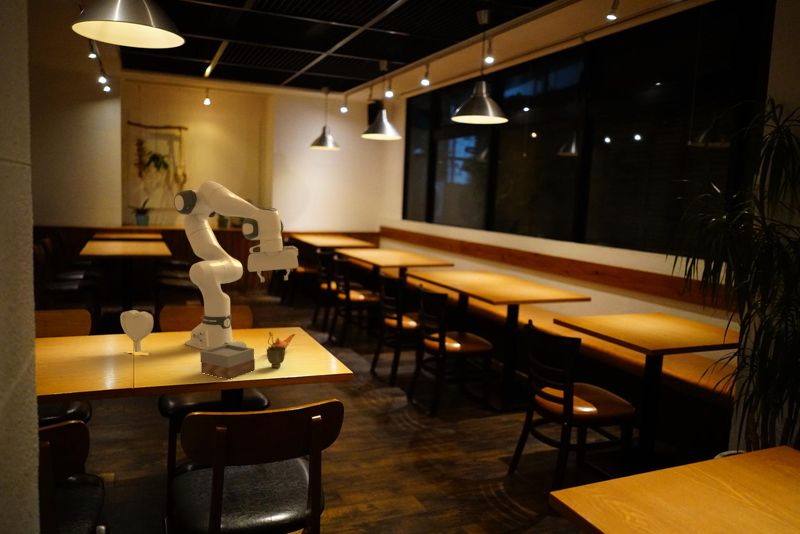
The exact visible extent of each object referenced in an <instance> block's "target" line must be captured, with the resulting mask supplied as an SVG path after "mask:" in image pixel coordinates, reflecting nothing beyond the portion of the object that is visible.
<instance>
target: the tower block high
mask: <svg viewBox="0 0 800 534" xmlns="http://www.w3.org/2000/svg"><path fill="white" fill-rule="evenodd" d="M199 356H200V363H201V362H203V363H208V364H212V365H217V366H222V367H227V368H229V367H232V366H235V365H238V364H241V363H244V362H247V361H250V360H253V359H255V348H252V347H248V346H247V347H242V346H237V345H231V344H224V345H221V346H217V347H214V348H210V349H205V350H200V355H199Z"/></svg>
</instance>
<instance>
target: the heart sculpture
mask: <svg viewBox="0 0 800 534" xmlns="http://www.w3.org/2000/svg"><path fill="white" fill-rule="evenodd" d="M119 319H120V325H121V327H122V329H123V332H124V333H125V334H126V336H127V338H129V339H130V340H131V341H132V342H133V344H134V345H133V347H134V350H135V352H141V350H142V349H141V341H143V339H144V338H147V337H148V336H149V335H150V334H151V332H152V331H153V328H154V317H153V315H152V314H151V313H149V312H147V311H138V310H135V309H134V310H133V309H132V310H128V311H123V312H122V313H120V317H119Z"/></svg>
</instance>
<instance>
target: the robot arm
mask: <svg viewBox="0 0 800 534" xmlns="http://www.w3.org/2000/svg"><path fill="white" fill-rule="evenodd" d="M173 206H174V209H175V210H176V211H177V212H178V213H179V214H180V215H181V214H182V215H186V216H184V218H183V226H184V231H185V235H186V237H187V240H188V241H189V243H190V246H191V249H192V250H193V251H192V252H193V253H194V254H195V256H197V257H199V258H201V259H203V260H201V261H199V262H196V263H194V264H192V265H191V267H190V269H189V274H188V275H189V279H190V281H191V282H192V283H193V284H194V285H196V287H197V288H198V289H199V291H200V292H201V294H202V297H203V304H204V307H203V308H204V309H203V310H204V311H203V312H204V314H203V315H201V316H199V317H200V319H201V323H200V324H198V325H197V326H196V327H194V328H193V329H192V330H191V332H190V337H189V338H190V339H187V340H185V342H184V345H187V346H190V347H193V348H195V349H198V350H201V351H203V350H207V349H210V348H214V347H217V346H221V345H224V343H226V342H235V341H234V338H233V331H232V325H231V323H232V313H231V298H230V296H229V295H228V294H227V293H225V292H223V290H222V288H221V287H222V286H221V284H223V285H224V284H229V283H233V282H236V281H238V280H240V279H241V278H242V276H243V273H244V270H243V269H244V268H243V265H242V263H241V261H240V260H238V259H237V258H234V257H232V256H231V255H230V254H228V252H226V250H224V249H223V248H222V246H221V245H220V244H219V242H218V240H217V237H216V235H215V234H214V232H213V230H212V227H211V225H210V223H209V218H214V217H215V216H216V214H218V215H220V216H224V217H235V218H236V217H237V218H238V217H239V218H245V219H244V220H243V221H242V223H241V232H242V235H243V236H244V237H245V239H246V240H250V241H259V244H256V245H255V246H252V247H250V248H249V253H250V254H249V255H248V257H247V270H248V272H250V273H251V272H252V273H253V272H256V273H257V275H258V277H259V278H260V283H264V282H265V277H264V276H262V271H263V272H264V271H273V270H274V271H275V270H276V271H278V270H286V272H287V273H286V275H283V278H284V279H283V280H284V281H288V280H289V274H290V272H291V269H297V268H298V267H299V262H298V256H299V249H298V248H297V247H296V246H294V245H289V246H288V245H285V246H284V245H283V237H282V234H283V231H284V223H283V221H282V220H281V217H280V213H279V211H278V209H277V208H275V207H268V206H267V207H260V208H259V207H258V206H256V205H255V204H253V203H251V202H249V201H248V200H245V199H244V198H242V197H240V196H238V195H237V194H235V192H232V191H231V190H229V189H228V188H227V187H225V186H224V185H222V184H221V183H219V182H216V181H214V180H205V181H204V182H203V183H202V184H200V186H199V189H188V190H187V189H186V190H182V191H178V192H177V193H176V194H175V196H174V199H173ZM200 319H199V320H200Z"/></svg>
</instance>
